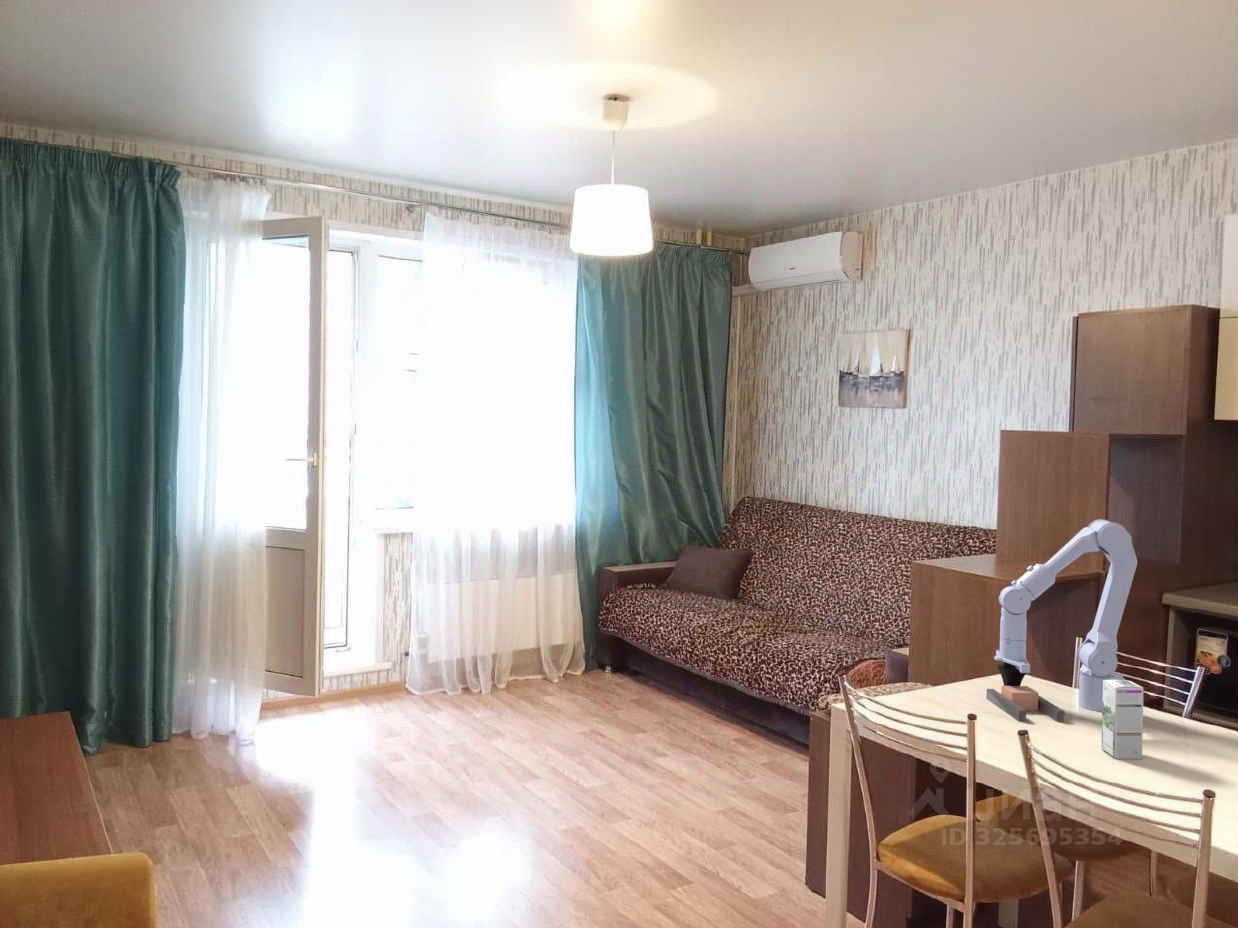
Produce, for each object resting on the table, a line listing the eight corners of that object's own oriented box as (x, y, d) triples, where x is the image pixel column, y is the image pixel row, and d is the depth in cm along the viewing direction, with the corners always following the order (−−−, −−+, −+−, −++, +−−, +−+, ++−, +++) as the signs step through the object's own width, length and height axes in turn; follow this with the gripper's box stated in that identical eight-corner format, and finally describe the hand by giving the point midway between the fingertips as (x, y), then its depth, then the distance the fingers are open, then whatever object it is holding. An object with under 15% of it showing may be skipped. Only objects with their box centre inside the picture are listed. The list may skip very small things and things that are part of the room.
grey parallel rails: (1026, 700, 236) (1027, 685, 236) (1075, 731, 212) (1075, 715, 212) (977, 699, 236) (977, 685, 236) (1019, 730, 212) (1020, 714, 212)
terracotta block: (1026, 702, 229) (1027, 685, 229) (1037, 710, 223) (1038, 692, 223) (1000, 702, 229) (1001, 685, 229) (1011, 710, 223) (1012, 692, 223)
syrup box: (1143, 759, 194) (1146, 686, 194) (1113, 759, 194) (1115, 686, 194) (1129, 750, 200) (1131, 679, 199) (1099, 749, 200) (1101, 678, 199)
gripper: (984, 631, 237) (982, 687, 238) (1008, 645, 223) (1007, 704, 223) (1013, 632, 237) (1011, 687, 238) (1039, 645, 223) (1038, 704, 223)
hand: (1011, 696), depth 231 cm, fingers closed
